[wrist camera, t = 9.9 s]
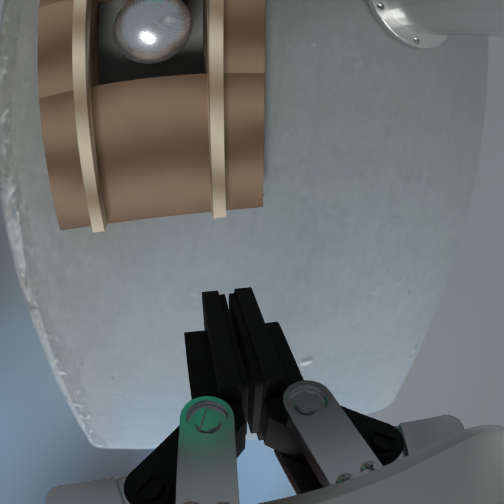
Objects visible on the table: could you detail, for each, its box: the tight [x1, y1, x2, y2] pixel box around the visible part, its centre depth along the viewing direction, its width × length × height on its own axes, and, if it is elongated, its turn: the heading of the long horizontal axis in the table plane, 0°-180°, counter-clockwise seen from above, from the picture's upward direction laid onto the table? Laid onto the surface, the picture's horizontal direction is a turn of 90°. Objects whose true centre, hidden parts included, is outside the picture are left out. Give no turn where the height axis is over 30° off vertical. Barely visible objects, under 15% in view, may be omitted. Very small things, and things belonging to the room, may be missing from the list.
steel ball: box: [113, 0, 192, 64], centre depth 19 cm, size 6×6×6 cm
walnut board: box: [38, 0, 265, 233], centre depth 22 cm, size 22×18×4 cm
